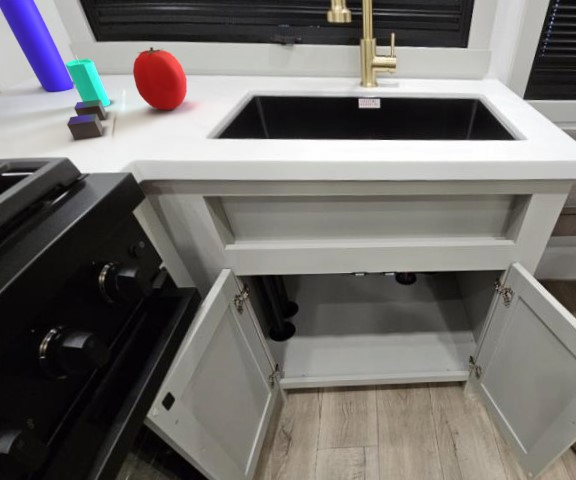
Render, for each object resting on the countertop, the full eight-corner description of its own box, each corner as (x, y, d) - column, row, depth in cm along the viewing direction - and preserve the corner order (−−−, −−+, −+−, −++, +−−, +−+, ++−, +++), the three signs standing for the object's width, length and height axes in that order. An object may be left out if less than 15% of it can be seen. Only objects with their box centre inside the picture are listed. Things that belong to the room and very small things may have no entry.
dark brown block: (83, 126, 75) (74, 108, 72) (85, 120, 78) (76, 102, 76) (106, 123, 76) (98, 105, 74) (108, 117, 80) (100, 99, 77)
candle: (97, 104, 87) (73, 51, 79) (116, 105, 86) (95, 52, 78) (81, 111, 83) (54, 56, 75) (101, 112, 82) (76, 57, 74)
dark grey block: (77, 144, 67) (66, 124, 65) (80, 136, 71) (70, 116, 68) (103, 140, 69) (94, 120, 66) (105, 132, 72) (96, 113, 69)
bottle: (39, 89, 99) (-35, -47, 79) (67, 83, 104) (4, -46, 84) (51, 93, 95) (-23, -48, 75) (80, 87, 100) (17, -47, 80)
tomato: (136, 109, 83) (113, 48, 74) (178, 98, 90) (162, 41, 81) (159, 119, 78) (137, 55, 69) (202, 106, 84) (188, 46, 76)
